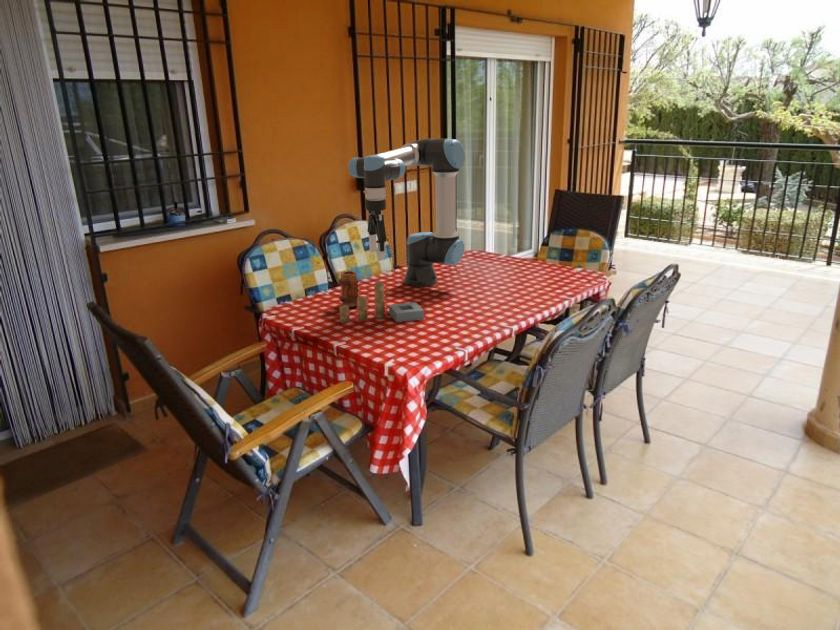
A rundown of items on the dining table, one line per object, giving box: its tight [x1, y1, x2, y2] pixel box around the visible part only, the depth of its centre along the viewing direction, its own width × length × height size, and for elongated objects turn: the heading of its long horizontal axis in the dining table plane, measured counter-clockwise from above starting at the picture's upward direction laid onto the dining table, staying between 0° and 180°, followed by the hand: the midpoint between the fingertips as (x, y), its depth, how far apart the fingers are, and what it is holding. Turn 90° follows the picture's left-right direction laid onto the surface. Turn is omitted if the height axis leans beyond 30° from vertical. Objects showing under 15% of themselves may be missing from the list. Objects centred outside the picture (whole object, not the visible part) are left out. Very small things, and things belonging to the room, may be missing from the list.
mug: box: [338, 270, 360, 308], centre depth 254 cm, size 15×8×15 cm, turn 21°
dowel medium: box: [357, 295, 368, 322], centre depth 241 cm, size 4×4×9 cm
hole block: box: [388, 302, 425, 323], centre depth 245 cm, size 11×11×4 cm
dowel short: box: [339, 304, 351, 324], centre depth 240 cm, size 4×4×6 cm
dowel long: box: [374, 281, 386, 320], centre depth 242 cm, size 4×4×14 cm
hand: (377, 255), depth 237 cm, fingers open, 13 cm apart
